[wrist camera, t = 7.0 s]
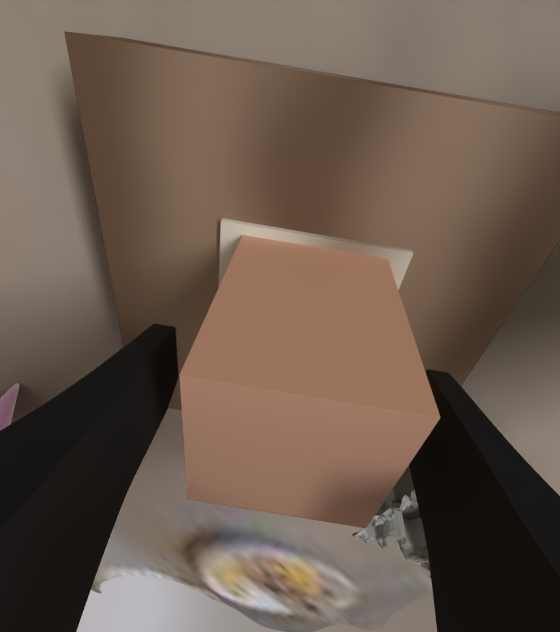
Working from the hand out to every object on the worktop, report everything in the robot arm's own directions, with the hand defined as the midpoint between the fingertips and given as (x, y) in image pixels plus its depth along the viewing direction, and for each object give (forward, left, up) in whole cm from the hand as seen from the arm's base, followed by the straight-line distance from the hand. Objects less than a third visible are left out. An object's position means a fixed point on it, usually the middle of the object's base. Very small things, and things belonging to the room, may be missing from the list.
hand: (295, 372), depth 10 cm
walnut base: (0, 0, -6) cm, 6 cm away
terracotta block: (0, 0, -3) cm, 3 cm away
